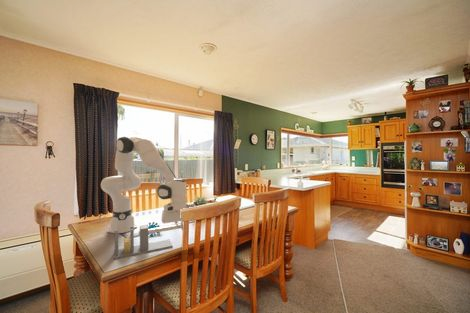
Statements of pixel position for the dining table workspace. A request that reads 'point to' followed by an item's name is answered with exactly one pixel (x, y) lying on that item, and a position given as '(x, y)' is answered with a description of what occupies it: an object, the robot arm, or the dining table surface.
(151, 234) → the gear
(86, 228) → the dining table surface
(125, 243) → the spacer
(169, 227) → the shaft
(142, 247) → the bearing base
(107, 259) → the dining table surface
